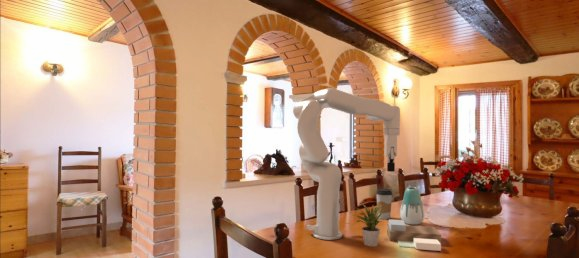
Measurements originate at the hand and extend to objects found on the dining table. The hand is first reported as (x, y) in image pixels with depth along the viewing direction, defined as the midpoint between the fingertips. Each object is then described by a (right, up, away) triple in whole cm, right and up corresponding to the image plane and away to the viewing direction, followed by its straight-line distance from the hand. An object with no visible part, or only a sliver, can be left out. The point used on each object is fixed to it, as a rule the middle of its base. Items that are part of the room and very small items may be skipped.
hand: (390, 171), depth 162 cm
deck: (+5, -27, -15) cm, 31 cm away
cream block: (+6, -24, -27) cm, 37 cm away
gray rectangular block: (-1, -23, -13) cm, 27 cm away
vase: (+14, -28, +11) cm, 33 cm away
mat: (+2, -27, -24) cm, 36 cm away
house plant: (-15, -27, -22) cm, 38 cm away
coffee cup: (+3, -28, +21) cm, 35 cm away
